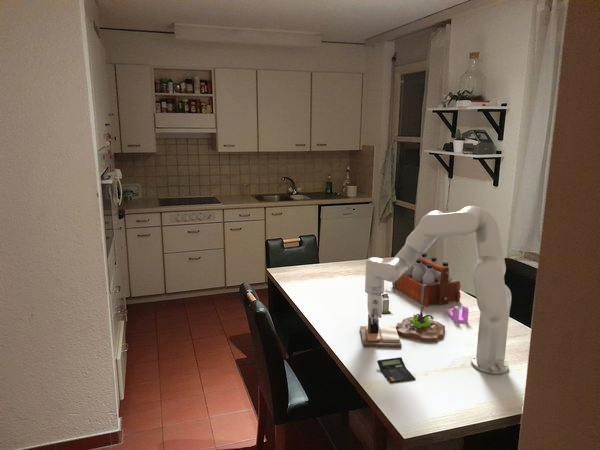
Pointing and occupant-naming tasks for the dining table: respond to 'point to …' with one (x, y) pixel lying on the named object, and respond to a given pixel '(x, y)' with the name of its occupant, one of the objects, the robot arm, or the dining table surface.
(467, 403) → the dining table surface
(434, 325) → the plant
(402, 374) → the calculator
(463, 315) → the bracket
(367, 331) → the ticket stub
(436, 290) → the milk bottle holder
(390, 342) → the board
